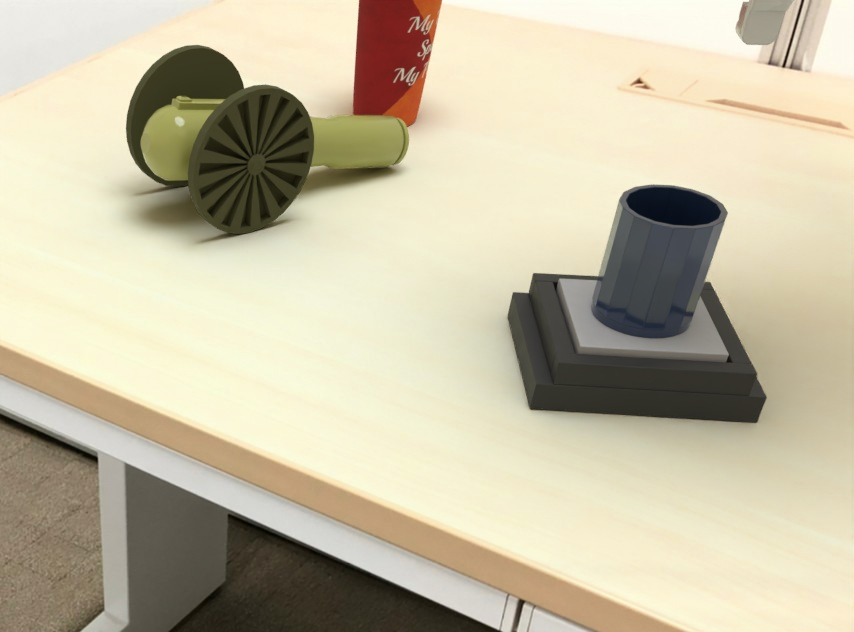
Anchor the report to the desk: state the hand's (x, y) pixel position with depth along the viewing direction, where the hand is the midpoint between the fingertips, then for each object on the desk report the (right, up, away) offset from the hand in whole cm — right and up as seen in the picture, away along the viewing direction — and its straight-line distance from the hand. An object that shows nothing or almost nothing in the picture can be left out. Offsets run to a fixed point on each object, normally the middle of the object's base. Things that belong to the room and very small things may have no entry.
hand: (730, 12), depth 70 cm
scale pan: (-1, -16, +12) cm, 20 cm away
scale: (-1, -18, +13) cm, 22 cm away
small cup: (-1, -15, +11) cm, 18 cm away
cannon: (-21, 0, +35) cm, 41 cm away
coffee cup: (-9, +11, +47) cm, 49 cm away
